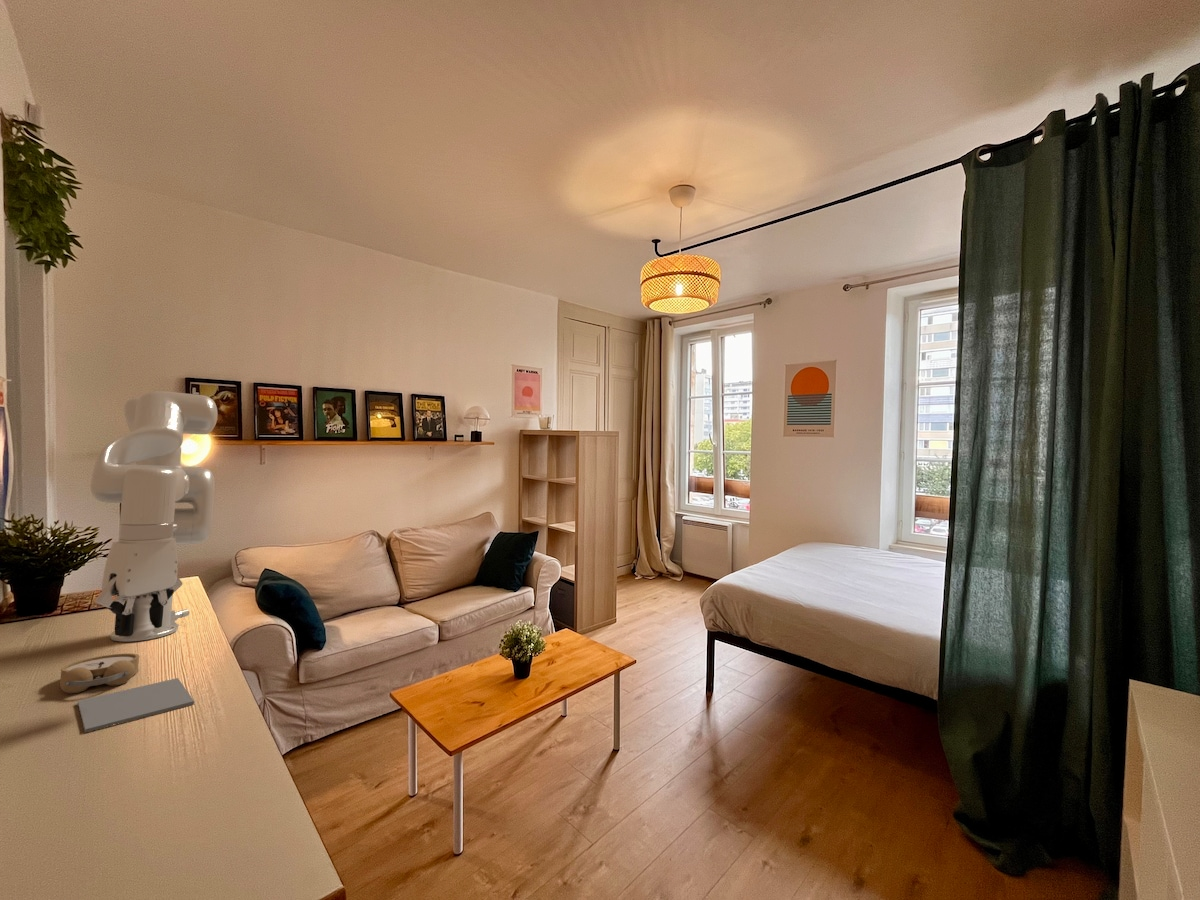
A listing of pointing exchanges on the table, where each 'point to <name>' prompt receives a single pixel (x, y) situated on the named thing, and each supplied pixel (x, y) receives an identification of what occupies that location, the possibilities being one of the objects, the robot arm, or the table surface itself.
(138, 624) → the rook chess piece
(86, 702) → the mat
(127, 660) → the alarm clock
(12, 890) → the table surface
